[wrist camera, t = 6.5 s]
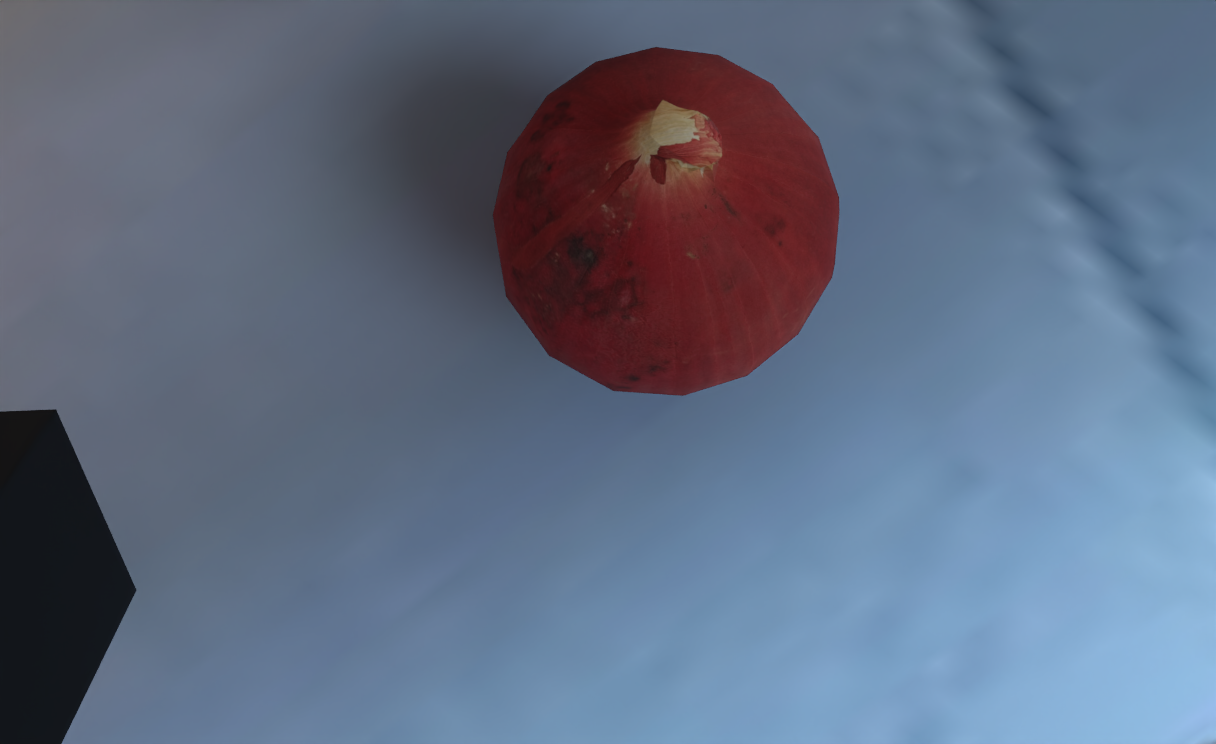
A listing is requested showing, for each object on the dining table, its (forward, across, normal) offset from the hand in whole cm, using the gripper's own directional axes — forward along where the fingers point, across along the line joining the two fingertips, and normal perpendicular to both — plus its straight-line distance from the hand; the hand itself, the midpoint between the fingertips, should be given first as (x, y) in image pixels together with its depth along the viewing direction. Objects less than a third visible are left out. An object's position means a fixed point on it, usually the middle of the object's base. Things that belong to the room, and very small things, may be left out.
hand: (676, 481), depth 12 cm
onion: (+11, 0, -4) cm, 11 cm away
